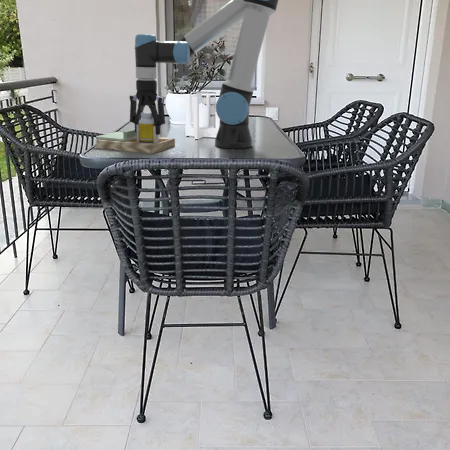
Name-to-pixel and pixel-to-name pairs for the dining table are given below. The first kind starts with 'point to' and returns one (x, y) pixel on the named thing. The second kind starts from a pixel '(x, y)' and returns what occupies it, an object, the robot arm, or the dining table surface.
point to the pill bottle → (146, 128)
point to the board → (137, 145)
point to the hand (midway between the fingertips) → (147, 142)
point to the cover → (119, 136)
